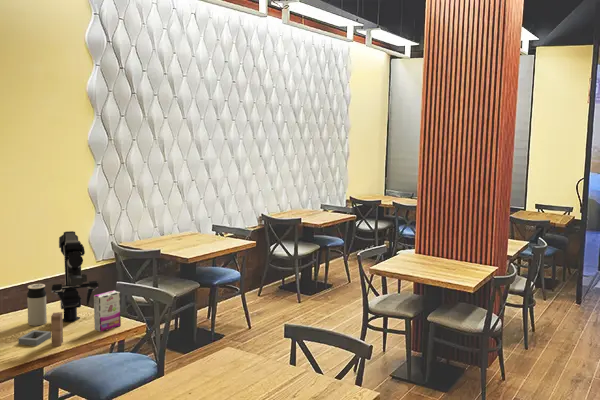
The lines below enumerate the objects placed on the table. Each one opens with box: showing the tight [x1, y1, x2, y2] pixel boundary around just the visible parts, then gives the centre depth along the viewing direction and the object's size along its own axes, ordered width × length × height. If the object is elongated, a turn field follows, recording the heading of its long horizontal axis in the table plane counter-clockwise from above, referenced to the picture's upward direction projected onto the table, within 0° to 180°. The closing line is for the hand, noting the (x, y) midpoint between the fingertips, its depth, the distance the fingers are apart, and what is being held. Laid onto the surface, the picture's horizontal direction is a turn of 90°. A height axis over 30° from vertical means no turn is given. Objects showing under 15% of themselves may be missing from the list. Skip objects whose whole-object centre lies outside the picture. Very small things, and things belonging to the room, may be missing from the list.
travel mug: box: [26, 283, 48, 327], centre depth 270 cm, size 8×8×18 cm
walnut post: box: [50, 312, 64, 347], centre depth 246 cm, size 5×4×13 cm
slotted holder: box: [17, 329, 52, 347], centre depth 250 cm, size 10×8×2 cm
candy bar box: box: [93, 290, 122, 333], centre depth 267 cm, size 11×5×16 cm, turn 143°
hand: (76, 306), depth 248 cm, fingers open, 9 cm apart
